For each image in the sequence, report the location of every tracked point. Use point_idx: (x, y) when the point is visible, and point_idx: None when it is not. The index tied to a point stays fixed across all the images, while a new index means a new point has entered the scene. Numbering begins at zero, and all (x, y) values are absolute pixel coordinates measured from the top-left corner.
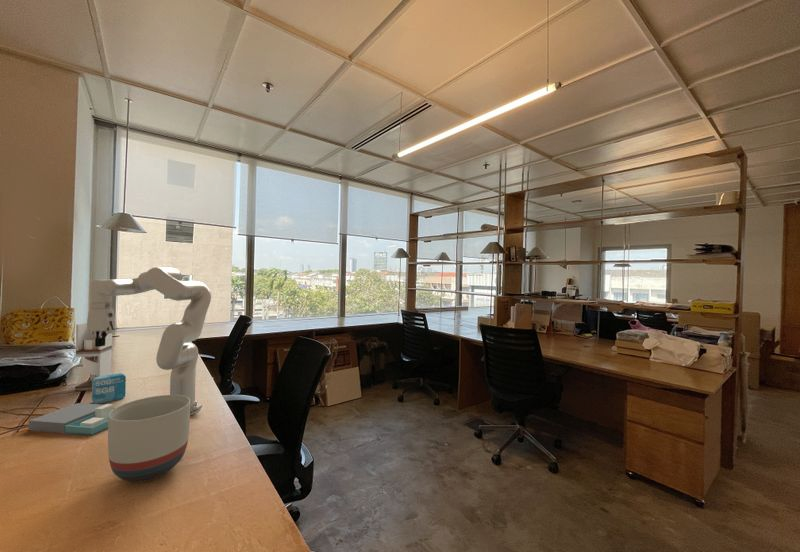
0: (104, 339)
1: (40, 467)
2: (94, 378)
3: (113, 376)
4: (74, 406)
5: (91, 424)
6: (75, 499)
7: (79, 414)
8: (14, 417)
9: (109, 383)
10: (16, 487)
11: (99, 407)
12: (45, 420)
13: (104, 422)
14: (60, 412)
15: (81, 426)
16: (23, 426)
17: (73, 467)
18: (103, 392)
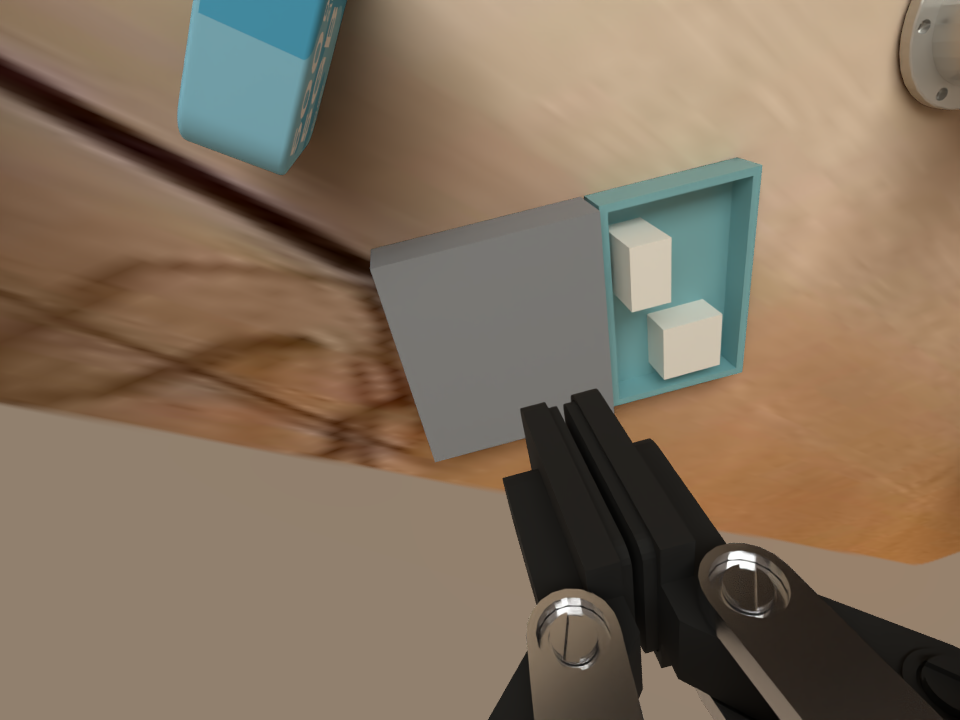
0: (699, 519)
1: (754, 489)
2: (204, 135)
3: (319, 5)
4: (420, 306)
5: (716, 363)
6: (943, 495)
7: (576, 348)
8: (166, 411)
9: (320, 46)
10: (784, 530)
11: (639, 296)
12: (505, 435)
13: (744, 326)
14: (455, 373)
15: (685, 382)
16: (356, 427)
17: (839, 457)
18: (317, 89)
